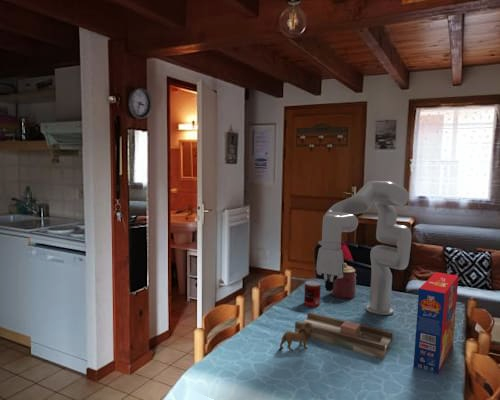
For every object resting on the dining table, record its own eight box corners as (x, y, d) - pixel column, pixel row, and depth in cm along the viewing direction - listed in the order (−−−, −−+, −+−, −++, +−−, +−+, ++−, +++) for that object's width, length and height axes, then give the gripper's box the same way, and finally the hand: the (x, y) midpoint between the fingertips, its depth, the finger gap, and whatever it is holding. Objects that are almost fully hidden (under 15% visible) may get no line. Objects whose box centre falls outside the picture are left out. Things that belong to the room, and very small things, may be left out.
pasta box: (438, 374, 131) (444, 293, 128) (413, 366, 135) (419, 288, 133) (452, 345, 153) (458, 275, 151) (431, 339, 158) (436, 271, 156)
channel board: (308, 323, 170) (308, 312, 170) (391, 344, 152) (392, 332, 152) (294, 334, 158) (295, 322, 158) (383, 359, 140) (384, 345, 140)
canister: (357, 293, 213) (359, 261, 212) (353, 300, 202) (355, 267, 200) (333, 289, 219) (335, 258, 217) (328, 296, 207) (329, 263, 206)
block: (345, 330, 157) (345, 320, 157) (360, 334, 154) (360, 324, 153) (340, 335, 152) (340, 325, 151) (355, 339, 149) (356, 329, 148)
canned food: (319, 302, 198) (320, 281, 197) (320, 307, 190) (321, 285, 189) (303, 301, 198) (304, 280, 197) (304, 306, 190) (305, 284, 190)
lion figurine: (306, 341, 153) (307, 319, 152) (315, 347, 148) (316, 324, 147) (275, 349, 145) (276, 325, 145) (283, 355, 141) (284, 331, 140)
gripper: (310, 244, 156) (308, 289, 158) (346, 249, 148) (344, 296, 150) (317, 241, 163) (315, 284, 164) (352, 246, 155) (350, 291, 156)
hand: (329, 290), depth 157 cm, fingers closed
